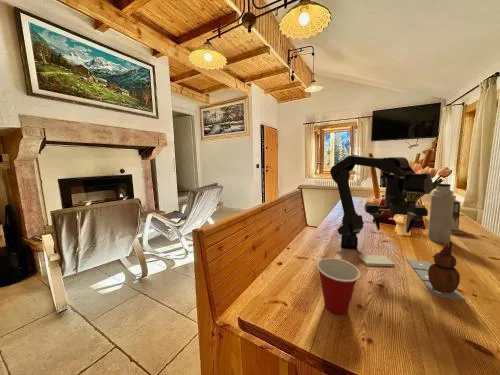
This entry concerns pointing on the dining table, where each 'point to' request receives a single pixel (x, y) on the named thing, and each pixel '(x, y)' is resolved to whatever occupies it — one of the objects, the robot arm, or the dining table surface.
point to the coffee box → (455, 216)
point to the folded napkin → (376, 260)
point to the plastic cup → (337, 283)
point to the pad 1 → (419, 264)
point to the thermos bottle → (441, 214)
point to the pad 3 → (444, 293)
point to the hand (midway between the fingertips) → (392, 231)
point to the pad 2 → (422, 275)
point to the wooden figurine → (444, 271)
